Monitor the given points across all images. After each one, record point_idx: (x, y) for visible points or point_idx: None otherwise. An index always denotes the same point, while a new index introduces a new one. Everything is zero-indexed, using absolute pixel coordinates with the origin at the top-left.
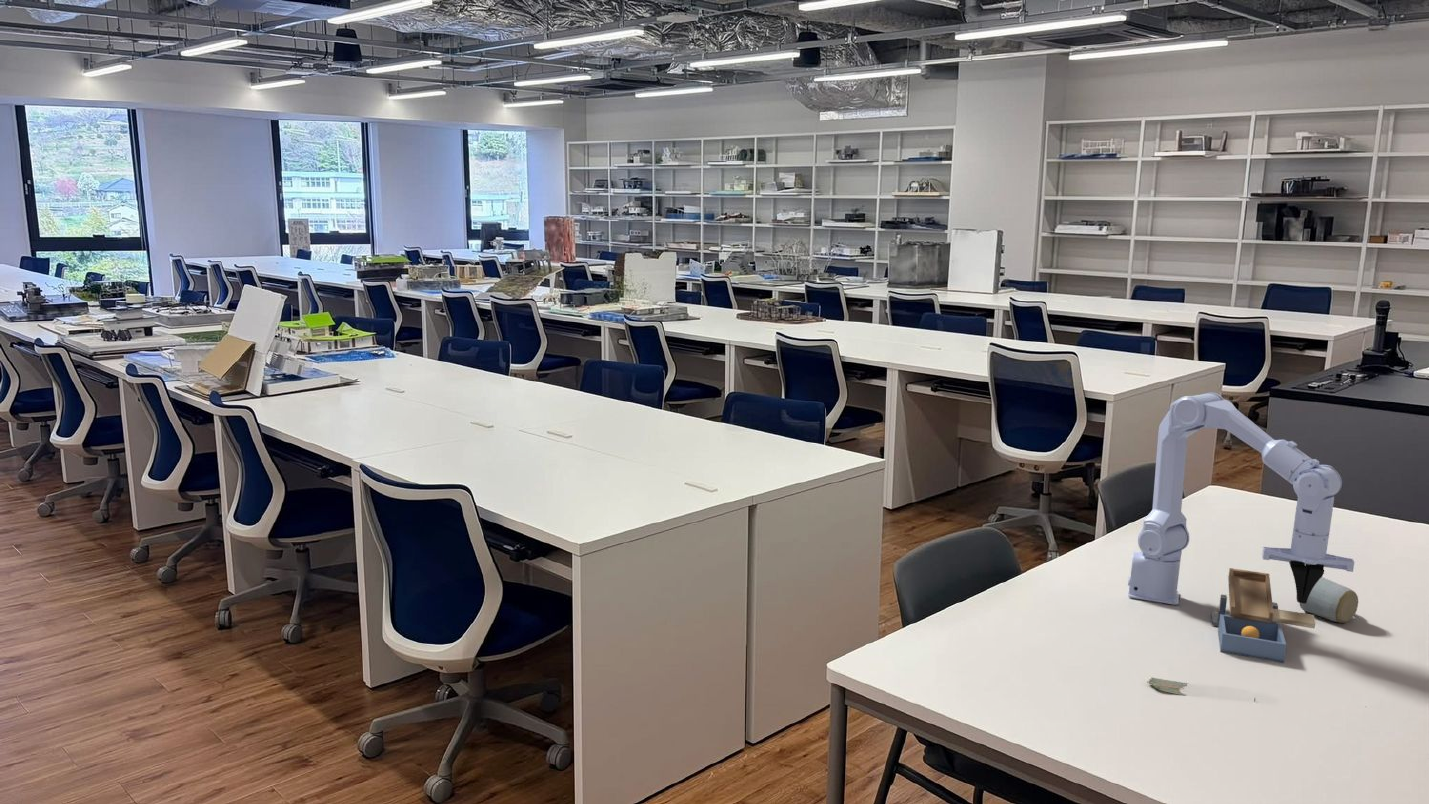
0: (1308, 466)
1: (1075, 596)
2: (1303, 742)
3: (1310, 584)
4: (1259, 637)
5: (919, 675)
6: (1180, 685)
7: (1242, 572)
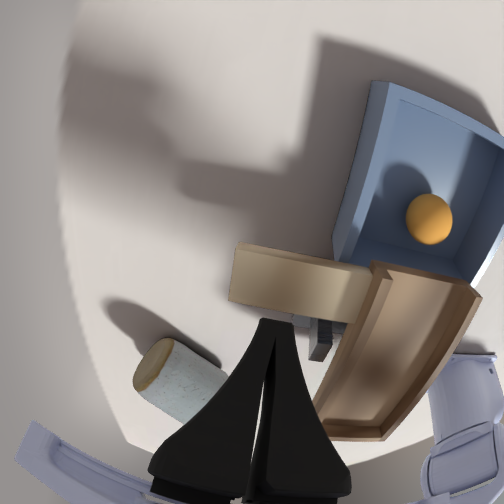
0: None
1: None
2: None
3: (239, 398)
4: (379, 241)
5: None
6: None
7: (362, 435)
